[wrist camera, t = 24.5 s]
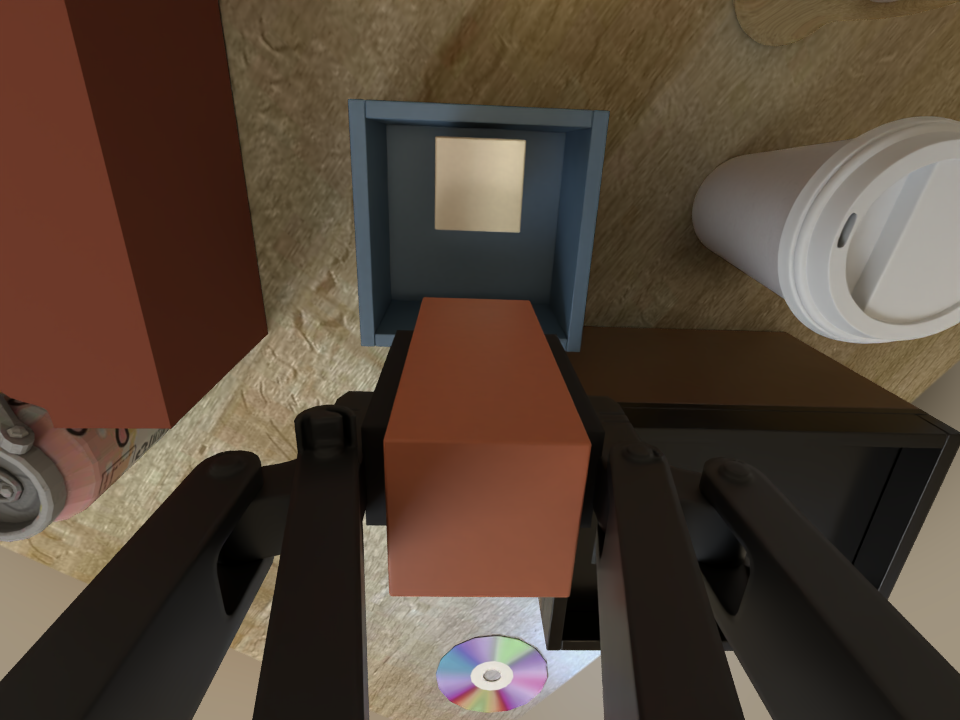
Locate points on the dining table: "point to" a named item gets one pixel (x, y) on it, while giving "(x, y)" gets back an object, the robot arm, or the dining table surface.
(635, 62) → the dining table surface
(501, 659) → the cd
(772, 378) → the pan
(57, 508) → the beverage can
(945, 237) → the coffee cup
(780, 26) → the metal tumbler
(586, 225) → the bin
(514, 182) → the cream block
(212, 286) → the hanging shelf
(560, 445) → the terracotta block
